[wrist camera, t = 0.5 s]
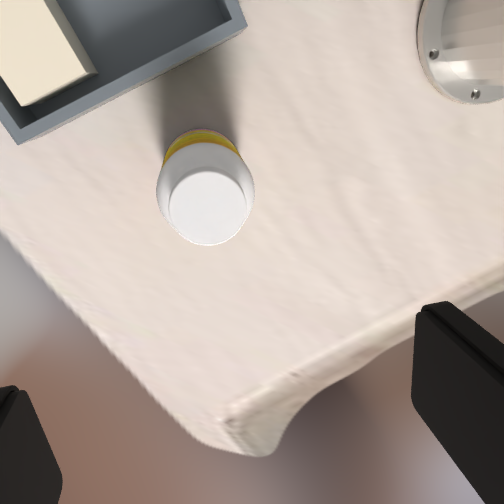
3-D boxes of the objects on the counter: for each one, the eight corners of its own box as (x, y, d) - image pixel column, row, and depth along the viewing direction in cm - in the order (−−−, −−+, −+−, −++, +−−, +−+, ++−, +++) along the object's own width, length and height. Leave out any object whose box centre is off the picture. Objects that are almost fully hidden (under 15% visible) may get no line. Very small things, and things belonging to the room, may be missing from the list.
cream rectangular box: (11, -77, 26) (-17, -103, 23) (98, 73, 31) (86, 72, 27) (-54, -41, 27) (-92, -61, 23) (41, 103, 31) (21, 106, 27)
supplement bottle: (153, 140, 34) (132, 170, 22) (227, 118, 34) (246, 136, 22) (179, 212, 37) (173, 273, 25) (248, 191, 37) (274, 242, 25)
